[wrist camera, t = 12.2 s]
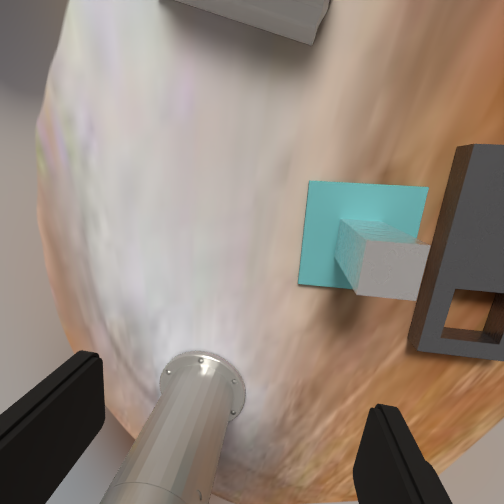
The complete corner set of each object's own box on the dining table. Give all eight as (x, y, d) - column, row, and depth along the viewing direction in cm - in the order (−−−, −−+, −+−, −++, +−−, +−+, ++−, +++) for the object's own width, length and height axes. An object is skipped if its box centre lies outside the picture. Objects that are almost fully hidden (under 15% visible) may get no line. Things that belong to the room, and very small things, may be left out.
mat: (401, 291, 31) (403, 294, 30) (298, 281, 32) (298, 283, 31) (425, 187, 27) (428, 187, 27) (309, 180, 28) (309, 180, 28)
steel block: (374, 260, 29) (416, 300, 20) (334, 256, 30) (356, 294, 20) (382, 221, 28) (430, 245, 19) (340, 218, 29) (366, 240, 19)
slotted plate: (496, 348, 31) (513, 362, 29) (407, 337, 32) (417, 350, 30) (570, 151, 25) (600, 148, 22) (457, 146, 26) (474, 143, 23)
